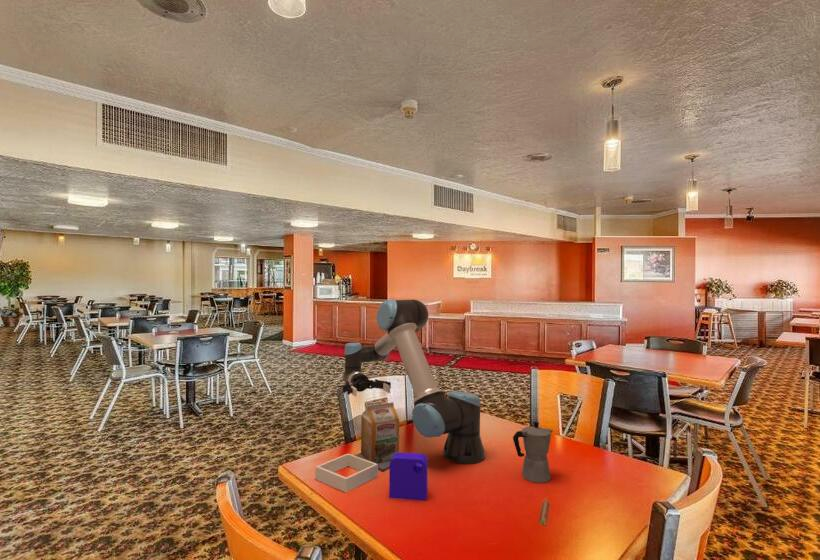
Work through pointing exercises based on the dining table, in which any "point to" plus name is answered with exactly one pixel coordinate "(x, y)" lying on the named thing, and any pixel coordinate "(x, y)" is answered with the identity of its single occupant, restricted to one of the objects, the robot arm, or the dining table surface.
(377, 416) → the milk carton
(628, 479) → the dining table surface
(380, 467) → the rubber mat
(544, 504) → the wooden stick
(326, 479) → the carton holder
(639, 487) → the dining table surface
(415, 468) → the bracket
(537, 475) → the coffeepot
